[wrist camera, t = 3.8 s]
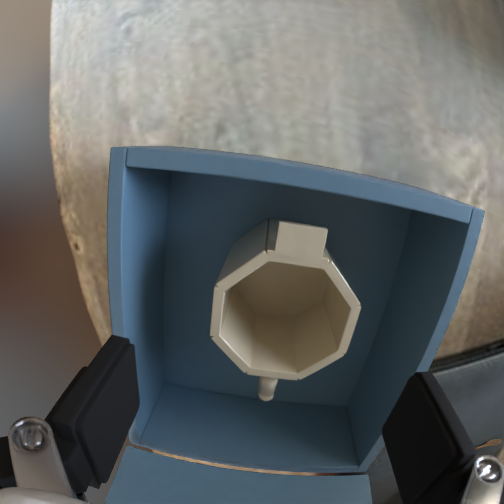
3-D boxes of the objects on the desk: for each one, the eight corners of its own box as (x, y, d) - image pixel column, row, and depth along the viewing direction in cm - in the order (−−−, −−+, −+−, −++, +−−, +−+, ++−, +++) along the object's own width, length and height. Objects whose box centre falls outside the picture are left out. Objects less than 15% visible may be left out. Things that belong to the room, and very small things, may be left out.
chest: (166, 146, 19) (110, 147, 12) (421, 188, 18) (485, 211, 11) (158, 380, 24) (130, 443, 18) (350, 406, 24) (365, 472, 17)
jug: (238, 192, 18) (221, 213, 13) (348, 210, 18) (380, 238, 12) (220, 340, 22) (204, 400, 16) (313, 352, 22) (322, 415, 16)
